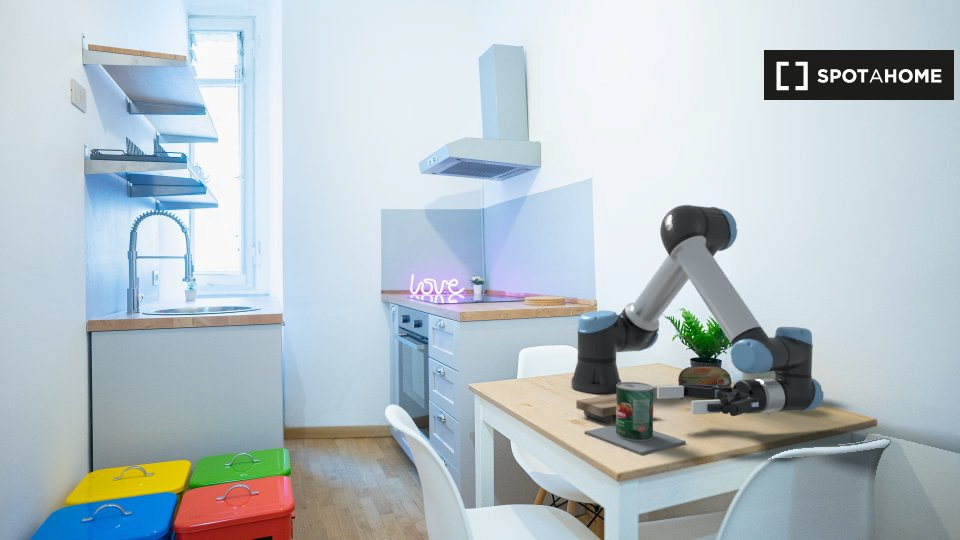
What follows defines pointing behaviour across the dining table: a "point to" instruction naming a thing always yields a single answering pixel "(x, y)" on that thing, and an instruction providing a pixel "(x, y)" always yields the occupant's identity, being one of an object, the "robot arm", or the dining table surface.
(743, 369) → the robot arm
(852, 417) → the dining table surface
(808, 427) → the dining table surface
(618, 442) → the flat gray pad
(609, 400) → the wooden serving board
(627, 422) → the canned tomato
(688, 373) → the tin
